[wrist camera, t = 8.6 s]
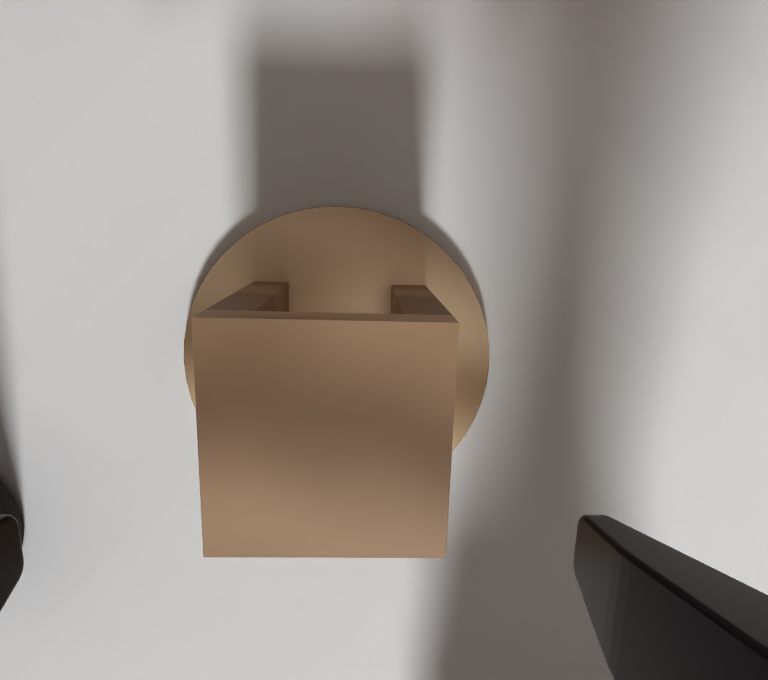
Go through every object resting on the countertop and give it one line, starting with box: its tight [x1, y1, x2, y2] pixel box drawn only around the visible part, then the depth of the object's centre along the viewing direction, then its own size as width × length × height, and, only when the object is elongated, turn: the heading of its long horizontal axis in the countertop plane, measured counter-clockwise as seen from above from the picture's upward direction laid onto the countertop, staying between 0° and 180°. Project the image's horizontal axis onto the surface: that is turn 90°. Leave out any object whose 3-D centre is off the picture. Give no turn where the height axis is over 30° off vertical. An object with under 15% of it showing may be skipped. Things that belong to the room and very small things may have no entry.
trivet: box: [184, 206, 489, 451], centre depth 20 cm, size 11×11×1 cm
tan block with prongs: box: [191, 282, 459, 558], centre depth 16 cm, size 6×6×7 cm
